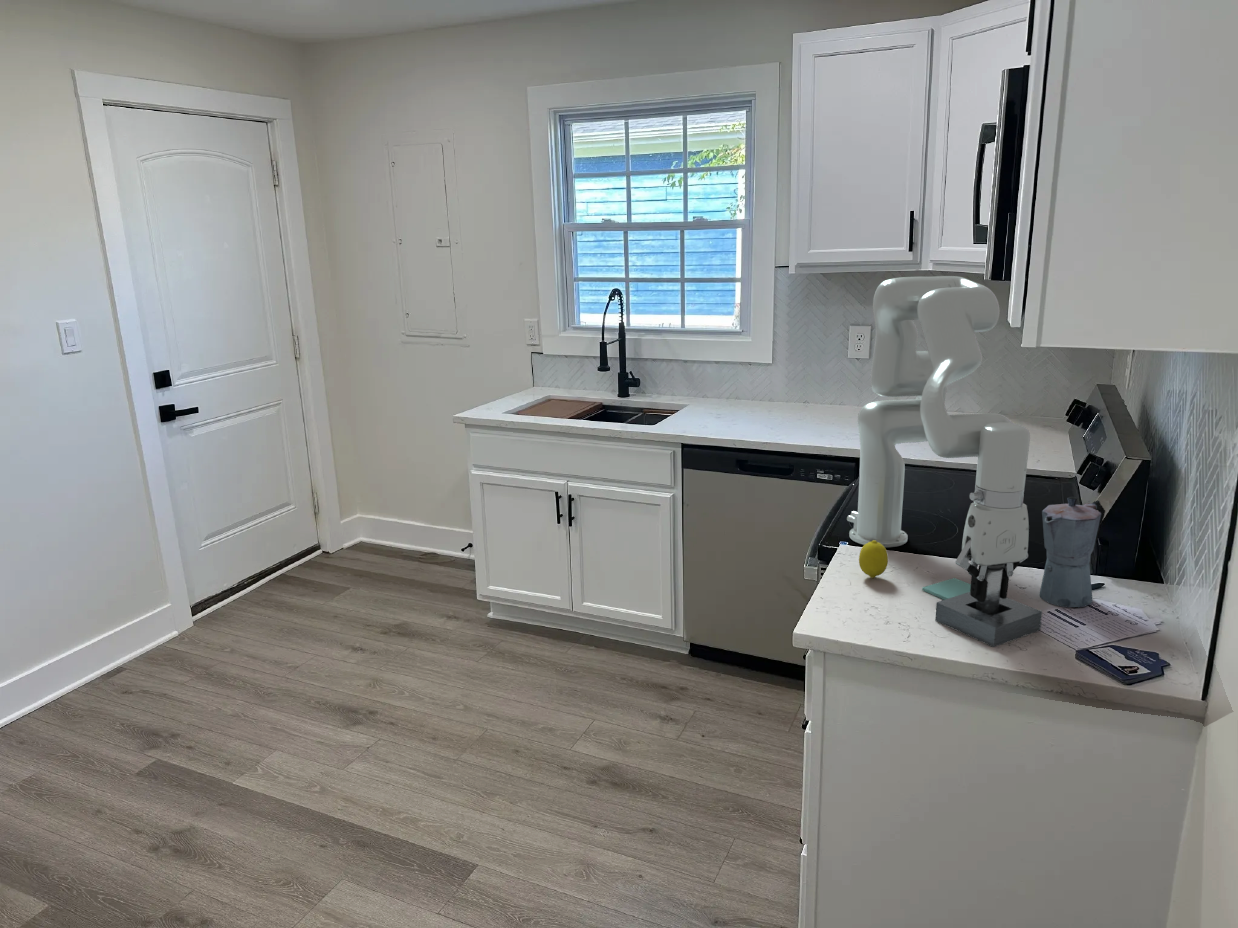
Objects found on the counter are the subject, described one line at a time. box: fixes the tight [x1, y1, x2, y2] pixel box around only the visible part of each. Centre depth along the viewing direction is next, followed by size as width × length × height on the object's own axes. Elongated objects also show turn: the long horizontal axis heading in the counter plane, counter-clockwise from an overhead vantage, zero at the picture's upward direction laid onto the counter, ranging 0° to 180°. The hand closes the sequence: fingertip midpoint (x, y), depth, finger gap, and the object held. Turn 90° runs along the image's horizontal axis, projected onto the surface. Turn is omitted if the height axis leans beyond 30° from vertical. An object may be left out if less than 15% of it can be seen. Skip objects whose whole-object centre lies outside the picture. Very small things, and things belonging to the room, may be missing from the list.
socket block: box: [934, 592, 1043, 648], centre depth 147 cm, size 12×12×4 cm
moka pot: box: [1039, 496, 1106, 608], centre depth 155 cm, size 10×15×20 cm, turn 119°
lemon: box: [858, 540, 889, 579], centre depth 168 cm, size 6×6×8 cm
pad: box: [921, 577, 971, 600], centre depth 161 cm, size 9×9×1 cm
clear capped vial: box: [976, 564, 1005, 616], centre depth 146 cm, size 4×4×10 cm
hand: (988, 596), depth 146 cm, fingers closed on clear capped vial, 3 cm apart
